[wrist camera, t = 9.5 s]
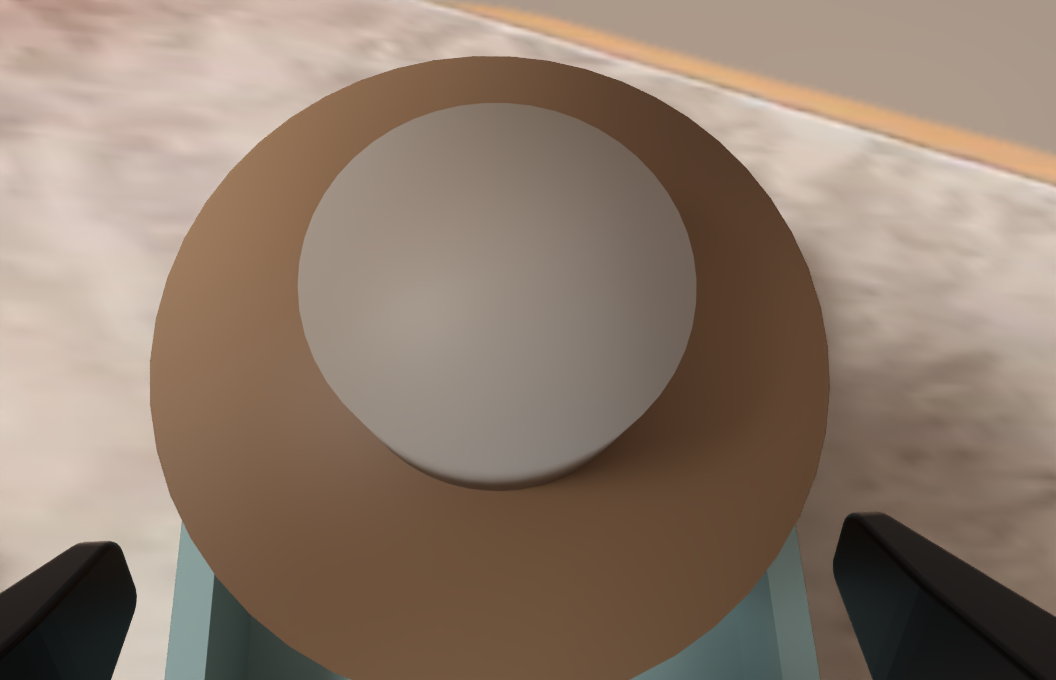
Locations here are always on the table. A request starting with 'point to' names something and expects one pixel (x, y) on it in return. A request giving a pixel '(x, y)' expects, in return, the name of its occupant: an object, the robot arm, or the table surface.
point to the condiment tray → (691, 676)
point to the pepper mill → (489, 377)
